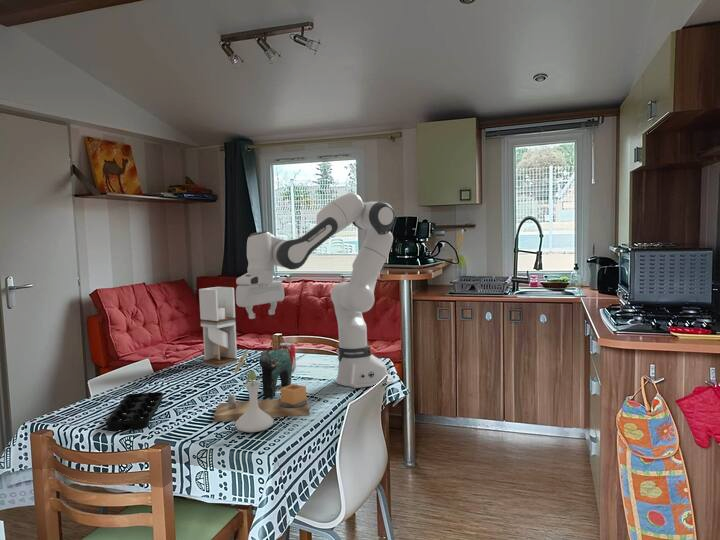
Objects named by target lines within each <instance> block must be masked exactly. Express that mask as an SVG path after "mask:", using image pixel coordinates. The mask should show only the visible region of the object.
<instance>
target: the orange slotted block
mask: <svg viewBox="0 0 720 540" xmlns="http://www.w3.org/2000/svg"><path fill="white" fill-rule="evenodd" d="M290 388H297V389H294V390H292V389H290ZM279 390H280V399H281V402H284V403H288V404H292V405H295V404H297V403H300V402H302V401H305V400H306V397H307V386H303V385H299V384H295V383H291V385H288V386H282V387H281V388H280V389H279Z"/></svg>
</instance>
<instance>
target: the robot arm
mask: <svg viewBox="0 0 720 540" xmlns="http://www.w3.org/2000/svg"><path fill="white" fill-rule="evenodd" d="M395 215H396V213H395V210H394V208H393V206H392V205H390V204H389V203H388V202H384V201H367V202H364V201H363V200H362V198H361V196H360V195H358V194H357V193H354V192H348V193H345V194H343V195H341V196H339V197H337V198H335V199H334V200H332V201H330V202H329V203H327V204H326V205H325V206H324V207H322V209H320V210H319V212H318V213H317V214H316V225H314V226H313V227H312V228H311V229H310V230H308V231H307V232H306V233H304V234H303V235H302V236H300V237H298V238H295V239H289V240H287V239H282V238H280V237H277V236H276V235H274V234H272V232H270V231H267V230H264V231H263V230H262V231H257V232H253V233H251V234H250V235H248V238H247V241H246V258H247V259H246V260H247V262H248V265H247V272H246V273H244V274H243V275H241V276H239V277H237V278H236V280H235V281H236V285H237V286H236V289H235V304H236V305H237V306H238V307H239V308H240V307H241V308H245V310H246V312H247V314H248V319H250V320H253V319H256V313H255V312H254V311H253V308H254V306H258V305H265V304H269V305H270V307H269V309H268V315H269V316H273V315H275V314H276V309H277V305H278V302H283V301H284V299H285V289H284V283H283V279H282V277H280V276H279V275H274V266H277V267H281V268H285V269H287V270H297V269H300V268H301V267H303V265H304V264H305V263H306V262H307V260H308V258H309V257H310V255H311V254H312V252H314V251H315V250H317V248H318V247H320V246H321V245H322V244H324V243H325V242H326V241H328V239H331V238H332V237H333V236H334V235H337V234H338V233H340V232H342V231H344V229H346V228H347V227H349V226H350V225H351V224H352V225H353V226H354V227H356V228H358V229H361V230H365V231H366V236H365V239H364V242H363V243H362V245H361V247H360V248H359V250H358V253H357V255H356V256H355V259H354V261H353V262H352V271H351V276H350V280H349V281H343V282H342V281H341V282H339V283H337V284H335V285H334V286H333V287H332V289H331V292H330V299H331V302H332V303H333V307H334V313H335V317H336V320H337V321H336V322H337V328H338V347H337V360H338V368H337V369H338V370H337V375H336V376H337V377H336V378H335V379H336V380H335V383H336V384H338V385H340V386H345V387H350V388H353V389H354V388H355V389H360V388H366V387H367V388H368V387H374V386H373V385H375V384H376V383H377V382H378V381H379V380H380V379H381V378H383V377H384V376H385V375H387V376H388V379H387V383H386V384H385V385H390V384H393V383H394V376H393V375H391V373H388V369H387V366H386V364H385V363H384V362H383V361H382V360H381V359H379V358H378V357H377V356H375V355H374V353H376V352H375V351H376V350H375V348H374V347H373V346H371V345H370V344H368V333H367V332H368V329H367V323H366V321H365V319H364V316H363V313H367V312H368V311H370V310H371V309H372V308H373V307H374V304H375V300H376V299H375V295H374V294H375V290H376V289H375V288H376V285H377V280H378V277H379V275H380V274H381V273H380V272H381V271H382V268H383V267H384V264H385V263H386V260H387V258H388V256H389V254H390V252H391V249H392V246H393V242H394V236H393V233H392V230H393V228H394V223H395V218H396V216H395Z"/></svg>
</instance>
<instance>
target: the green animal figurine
mask: <svg viewBox="0 0 720 540" xmlns="http://www.w3.org/2000/svg"><path fill="white" fill-rule="evenodd" d="M274 342H275V343H277V340H276V339H272V341H271V342H270V348H268V349H267V350H262V351H261V352H260V355H259V365H260V368H261V381H262V382H261V383H262V394H263V399H273V398H275V397H276V393H277V391H276V389H277V382H278V378H279V380H280V384H281V385H280V386H281V387H286V386H288V385H291V384H292V375H293V374H292V373H293V372H292V362H291V358H290V355H289V353H288V351H287V350H286V347H285V346H284V345H281V346H280V345H279V346H278V347H276V348H274V349H273V343H274ZM280 347H284V348H285V350H284V349H279V348H280ZM270 349H271V350H270Z"/></svg>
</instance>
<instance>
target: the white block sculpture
mask: <svg viewBox="0 0 720 540" xmlns="http://www.w3.org/2000/svg"><path fill="white" fill-rule="evenodd" d="M198 297H199V299H198V300H199V313H200V314H199V316H200V327H202V335H203V336H202V337H203V352H204V353H203V354H204V356H203V357H204V359H203V360H202V365H203V366H208V367H213V368H217V369H220V368H224V367H226V366H230V365H233V364H236V363H237V364H238V351H237V350H238V348H237V325H236V305H235V304H236V298H235V288H234V287H229V286H214V287H206V288H199V289H198Z"/></svg>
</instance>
